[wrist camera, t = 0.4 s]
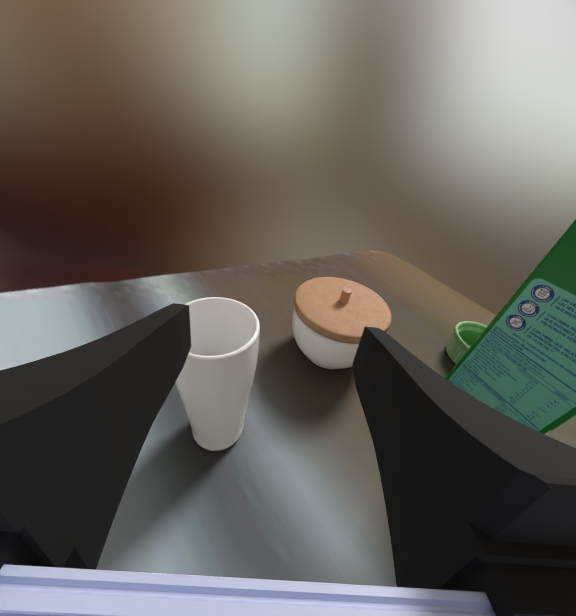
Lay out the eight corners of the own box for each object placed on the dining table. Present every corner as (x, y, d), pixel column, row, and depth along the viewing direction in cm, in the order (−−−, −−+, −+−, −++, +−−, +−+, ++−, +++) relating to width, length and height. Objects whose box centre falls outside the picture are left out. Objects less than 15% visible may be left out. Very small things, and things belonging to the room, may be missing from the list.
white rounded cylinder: (244, 465, 26) (253, 366, 16) (174, 457, 25) (143, 352, 16) (254, 402, 31) (265, 302, 22) (197, 395, 31) (184, 290, 21)
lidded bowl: (333, 315, 46) (351, 259, 40) (386, 367, 38) (419, 308, 32) (270, 333, 40) (279, 272, 34) (317, 400, 32) (340, 336, 26)
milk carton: (489, 471, 28) (792, 273, 13) (425, 400, 35) (581, 210, 19) (532, 441, 32) (811, 259, 17) (468, 382, 38) (628, 210, 23)
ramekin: (512, 370, 42) (531, 352, 39) (483, 391, 37) (503, 372, 35) (460, 334, 47) (474, 315, 45) (430, 348, 43) (444, 329, 40)
